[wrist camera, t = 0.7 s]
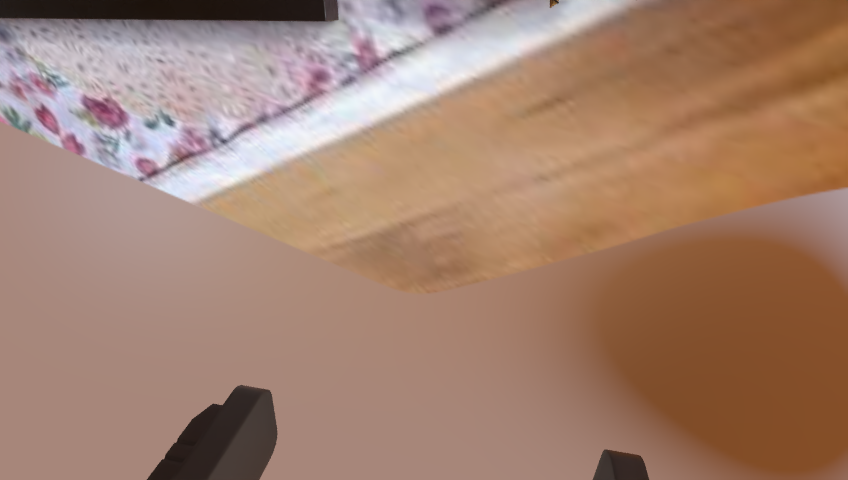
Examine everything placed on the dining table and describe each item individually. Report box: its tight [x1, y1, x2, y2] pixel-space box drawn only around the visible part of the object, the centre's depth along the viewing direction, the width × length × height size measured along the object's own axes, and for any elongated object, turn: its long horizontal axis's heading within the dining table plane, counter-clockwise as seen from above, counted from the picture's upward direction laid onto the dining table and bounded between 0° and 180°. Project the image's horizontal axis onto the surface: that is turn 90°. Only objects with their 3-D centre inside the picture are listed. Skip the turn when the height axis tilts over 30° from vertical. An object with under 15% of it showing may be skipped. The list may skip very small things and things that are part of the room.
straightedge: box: [0, 0, 338, 21], centre depth 33 cm, size 2×32×2 cm, turn 90°
